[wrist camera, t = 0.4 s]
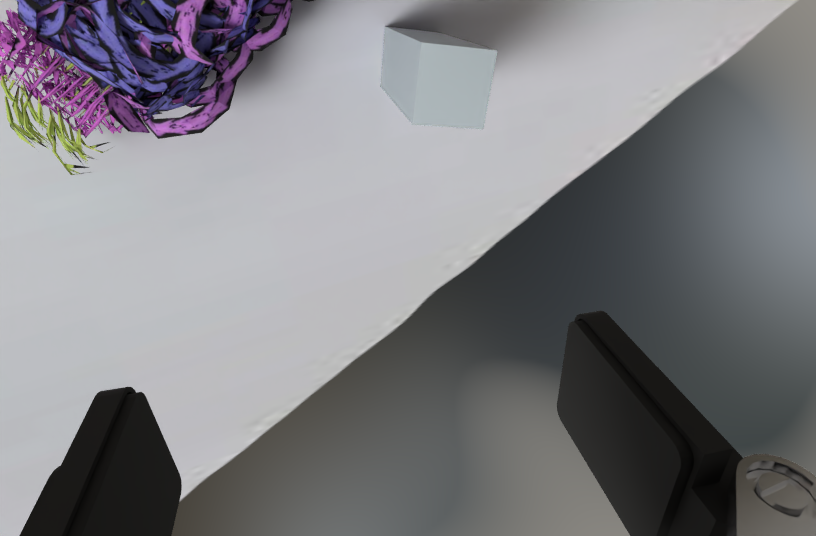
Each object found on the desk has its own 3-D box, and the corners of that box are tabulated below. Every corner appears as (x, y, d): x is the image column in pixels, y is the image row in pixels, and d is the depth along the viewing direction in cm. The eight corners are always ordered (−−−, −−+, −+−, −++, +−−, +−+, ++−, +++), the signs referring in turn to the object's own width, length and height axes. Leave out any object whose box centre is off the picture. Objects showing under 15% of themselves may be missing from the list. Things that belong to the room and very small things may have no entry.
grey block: (384, 26, 34) (421, 42, 24) (439, 32, 35) (497, 50, 25) (380, 86, 36) (412, 124, 26) (432, 90, 37) (483, 129, 27)
